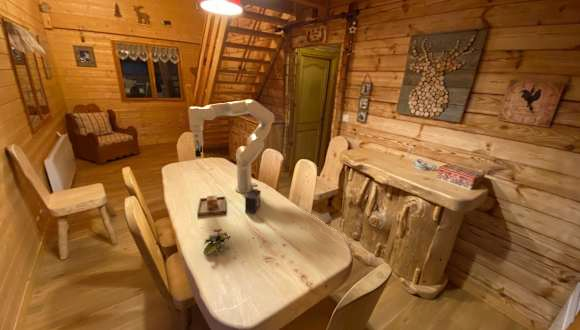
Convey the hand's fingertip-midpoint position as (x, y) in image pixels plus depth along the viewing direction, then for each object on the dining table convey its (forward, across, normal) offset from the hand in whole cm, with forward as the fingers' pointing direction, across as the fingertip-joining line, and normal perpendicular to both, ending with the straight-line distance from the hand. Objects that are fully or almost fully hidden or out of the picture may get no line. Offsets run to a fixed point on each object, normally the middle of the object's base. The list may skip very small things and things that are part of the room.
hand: (199, 154), depth 150 cm
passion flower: (+29, -58, -11) cm, 66 cm away
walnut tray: (+28, -19, -7) cm, 35 cm away
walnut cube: (+27, -19, -7) cm, 34 cm away
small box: (+29, -25, -31) cm, 49 cm away
